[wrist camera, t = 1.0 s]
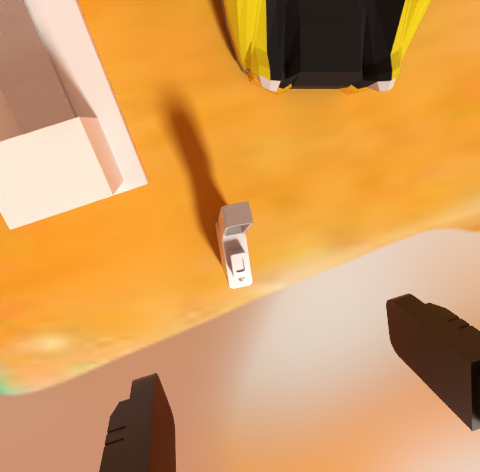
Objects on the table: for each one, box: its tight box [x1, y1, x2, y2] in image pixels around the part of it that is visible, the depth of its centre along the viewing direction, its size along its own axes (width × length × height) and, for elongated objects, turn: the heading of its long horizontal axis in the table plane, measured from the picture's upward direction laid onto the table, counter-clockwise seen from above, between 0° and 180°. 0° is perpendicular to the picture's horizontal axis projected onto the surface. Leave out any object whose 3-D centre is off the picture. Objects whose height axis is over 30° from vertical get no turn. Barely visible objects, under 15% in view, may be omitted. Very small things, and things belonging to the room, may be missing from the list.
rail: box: [0, 0, 77, 134], centre depth 23 cm, size 4×19×1 cm, turn 17°
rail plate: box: [0, 0, 149, 208], centre depth 24 cm, size 9×20×1 cm, turn 17°
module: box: [0, 117, 124, 230], centre depth 23 cm, size 6×4×6 cm
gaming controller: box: [221, 0, 431, 94], centre depth 24 cm, size 15×6×10 cm
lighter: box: [215, 202, 253, 289], centre depth 26 cm, size 7×2×8 cm, turn 8°
